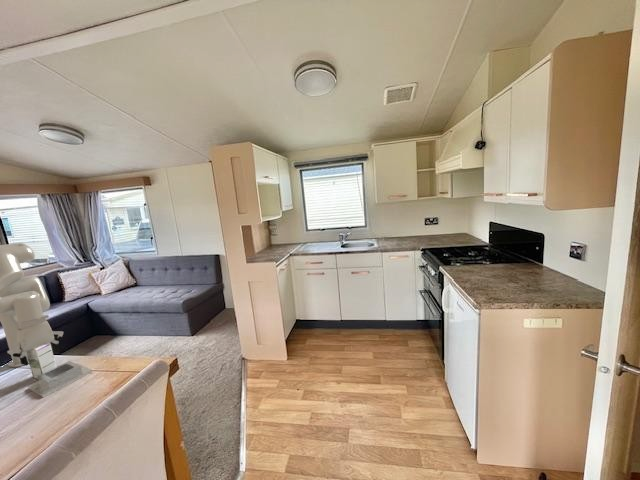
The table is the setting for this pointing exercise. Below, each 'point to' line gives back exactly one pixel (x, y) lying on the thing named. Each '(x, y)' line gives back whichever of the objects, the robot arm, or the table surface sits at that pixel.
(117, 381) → the table surface
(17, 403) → the table surface
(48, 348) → the syrup box
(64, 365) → the square socket
